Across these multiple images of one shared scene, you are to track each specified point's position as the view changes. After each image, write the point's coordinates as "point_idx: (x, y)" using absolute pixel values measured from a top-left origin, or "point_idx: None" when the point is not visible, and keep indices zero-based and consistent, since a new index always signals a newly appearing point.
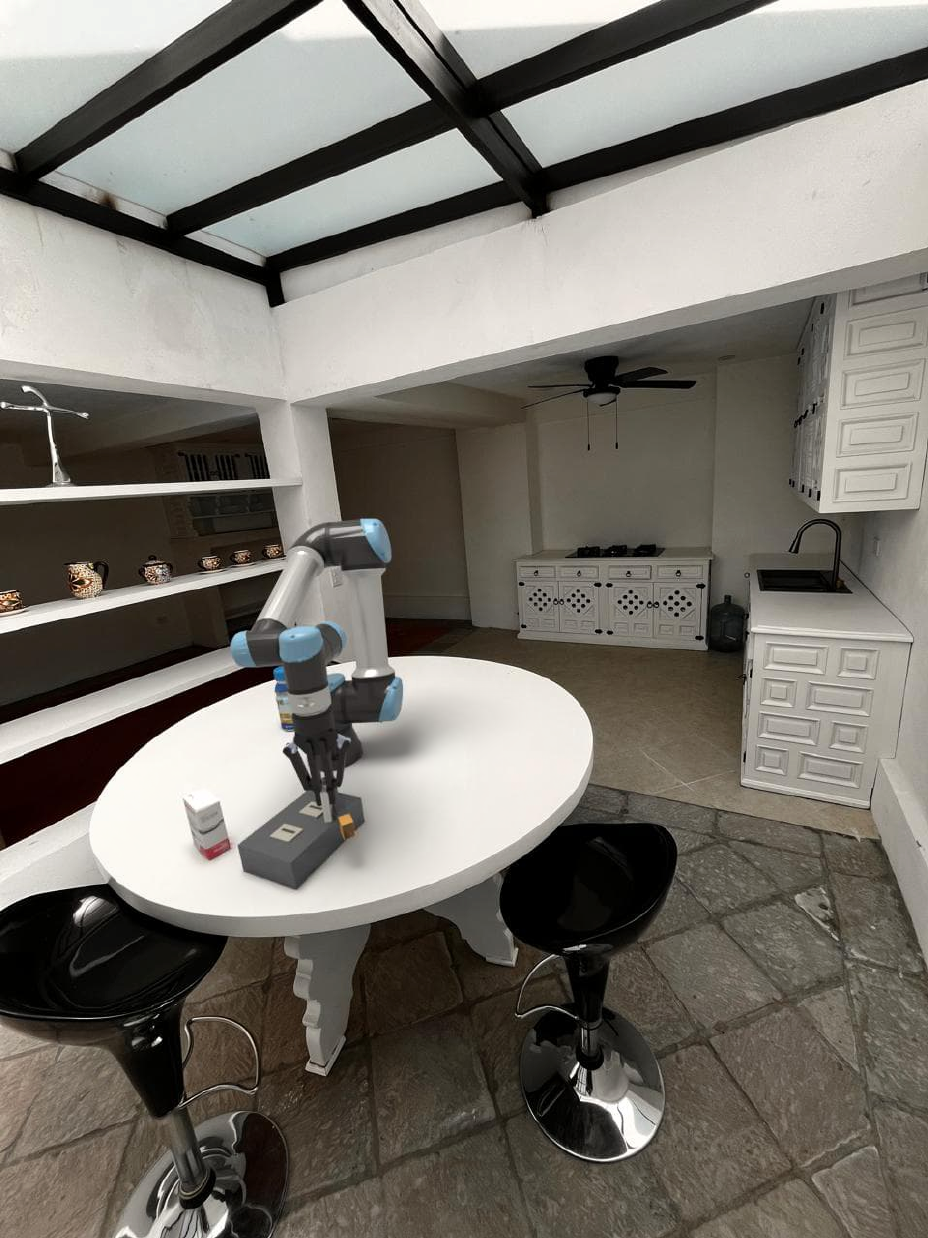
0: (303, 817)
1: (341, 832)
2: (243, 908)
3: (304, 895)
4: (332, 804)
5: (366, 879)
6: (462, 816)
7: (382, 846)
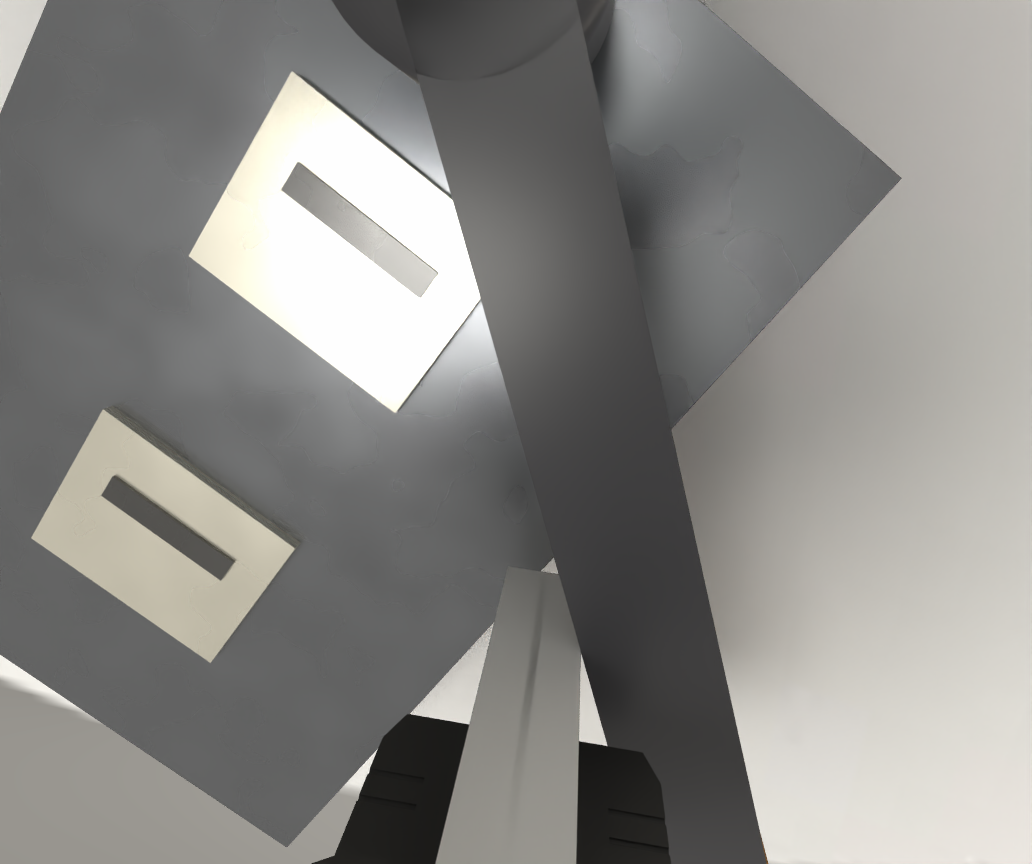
0: (260, 348)
1: None
2: None
3: None
4: (580, 654)
5: None
6: None
7: (882, 534)
